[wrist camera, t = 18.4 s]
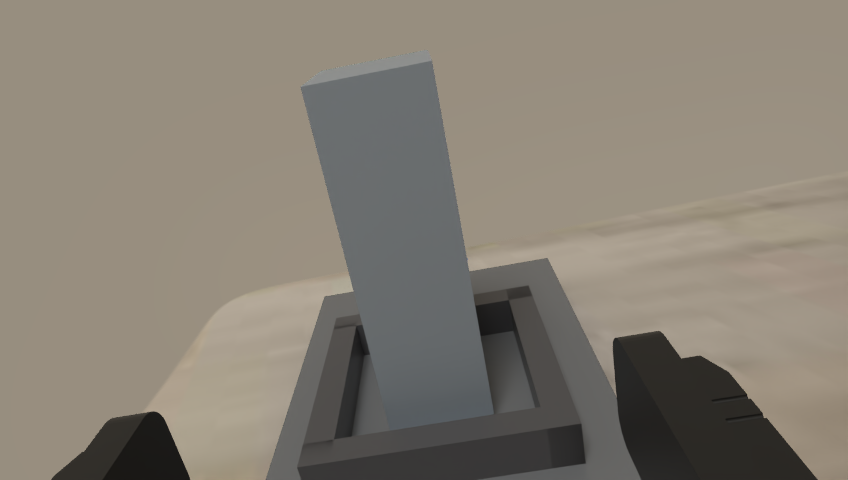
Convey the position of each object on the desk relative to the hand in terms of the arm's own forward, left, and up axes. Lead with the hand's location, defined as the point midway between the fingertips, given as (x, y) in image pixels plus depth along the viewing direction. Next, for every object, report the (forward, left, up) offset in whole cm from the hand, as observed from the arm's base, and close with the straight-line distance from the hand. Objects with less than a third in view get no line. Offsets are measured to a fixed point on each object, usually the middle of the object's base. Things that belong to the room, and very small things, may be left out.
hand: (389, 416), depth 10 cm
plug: (0, -10, -7) cm, 12 cm away
